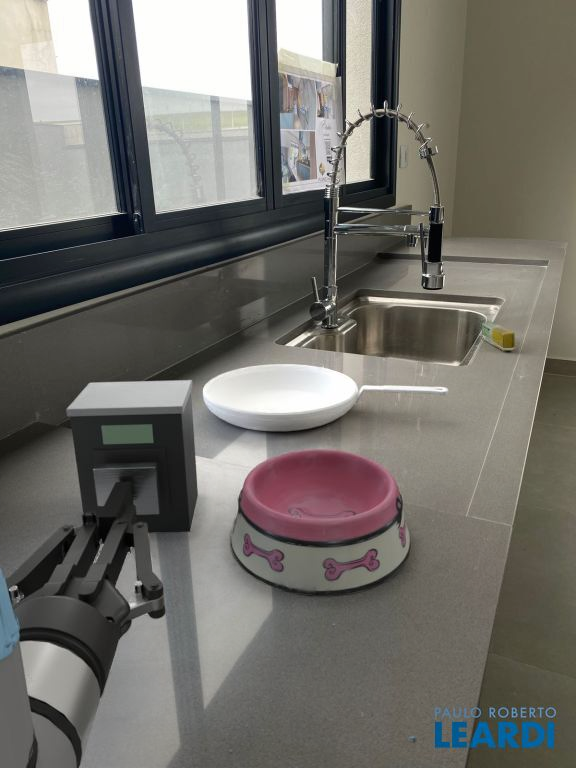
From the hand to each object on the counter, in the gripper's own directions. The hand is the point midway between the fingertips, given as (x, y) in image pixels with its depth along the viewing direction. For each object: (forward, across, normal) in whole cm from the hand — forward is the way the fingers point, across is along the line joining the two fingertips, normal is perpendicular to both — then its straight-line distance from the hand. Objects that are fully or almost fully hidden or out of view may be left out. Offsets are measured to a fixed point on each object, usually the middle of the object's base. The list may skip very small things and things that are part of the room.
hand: (124, 494), depth 59 cm
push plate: (+1, 0, -3) cm, 3 cm away
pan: (+38, +23, -7) cm, 45 cm away
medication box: (+76, +66, -7) cm, 100 cm away
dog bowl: (+1, +19, -7) cm, 20 cm away
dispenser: (+7, 0, -7) cm, 10 cm away
